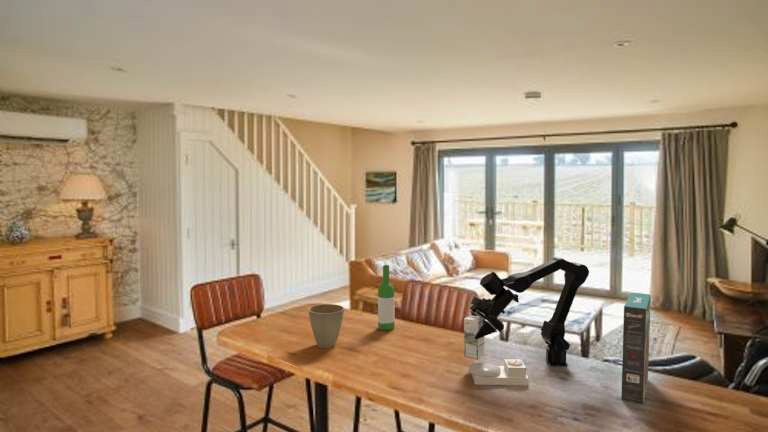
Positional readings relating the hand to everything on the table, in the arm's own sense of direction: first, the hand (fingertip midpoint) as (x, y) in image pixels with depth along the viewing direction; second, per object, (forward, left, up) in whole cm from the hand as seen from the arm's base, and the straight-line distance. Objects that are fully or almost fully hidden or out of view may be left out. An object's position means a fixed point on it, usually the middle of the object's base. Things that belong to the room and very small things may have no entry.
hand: (470, 335), depth 178 cm
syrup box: (-1, 0, -8) cm, 9 cm away
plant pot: (+58, -25, -13) cm, 64 cm away
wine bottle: (+34, -50, -13) cm, 62 cm away
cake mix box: (-52, +14, -13) cm, 56 cm away
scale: (-9, +7, -13) cm, 17 cm away
